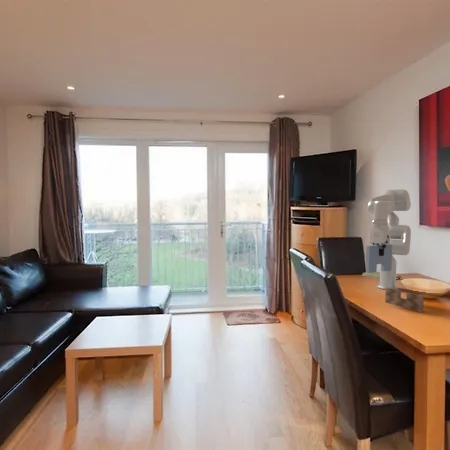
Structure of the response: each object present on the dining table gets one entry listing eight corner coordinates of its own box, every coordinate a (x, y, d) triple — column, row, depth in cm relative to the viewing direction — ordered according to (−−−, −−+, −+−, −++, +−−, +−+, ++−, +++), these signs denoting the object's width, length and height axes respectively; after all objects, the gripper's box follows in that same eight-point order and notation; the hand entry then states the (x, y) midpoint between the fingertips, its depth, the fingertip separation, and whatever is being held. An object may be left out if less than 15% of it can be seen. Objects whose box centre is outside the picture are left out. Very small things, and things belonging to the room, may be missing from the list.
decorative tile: (401, 279, 247) (401, 274, 247) (380, 281, 240) (380, 276, 240) (381, 274, 265) (381, 270, 265) (361, 276, 258) (361, 271, 258)
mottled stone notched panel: (385, 302, 186) (385, 287, 186) (388, 301, 187) (388, 287, 187) (420, 312, 168) (420, 296, 168) (423, 311, 170) (423, 296, 169)
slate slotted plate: (368, 272, 186) (369, 245, 185) (365, 272, 188) (366, 245, 187) (391, 270, 194) (392, 244, 193) (388, 270, 195) (389, 244, 195)
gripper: (364, 222, 195) (363, 254, 196) (388, 223, 181) (386, 257, 182) (373, 222, 198) (372, 253, 199) (397, 223, 184) (396, 257, 185)
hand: (379, 255), depth 190 cm, fingers closed on slate slotted plate, 2 cm apart
